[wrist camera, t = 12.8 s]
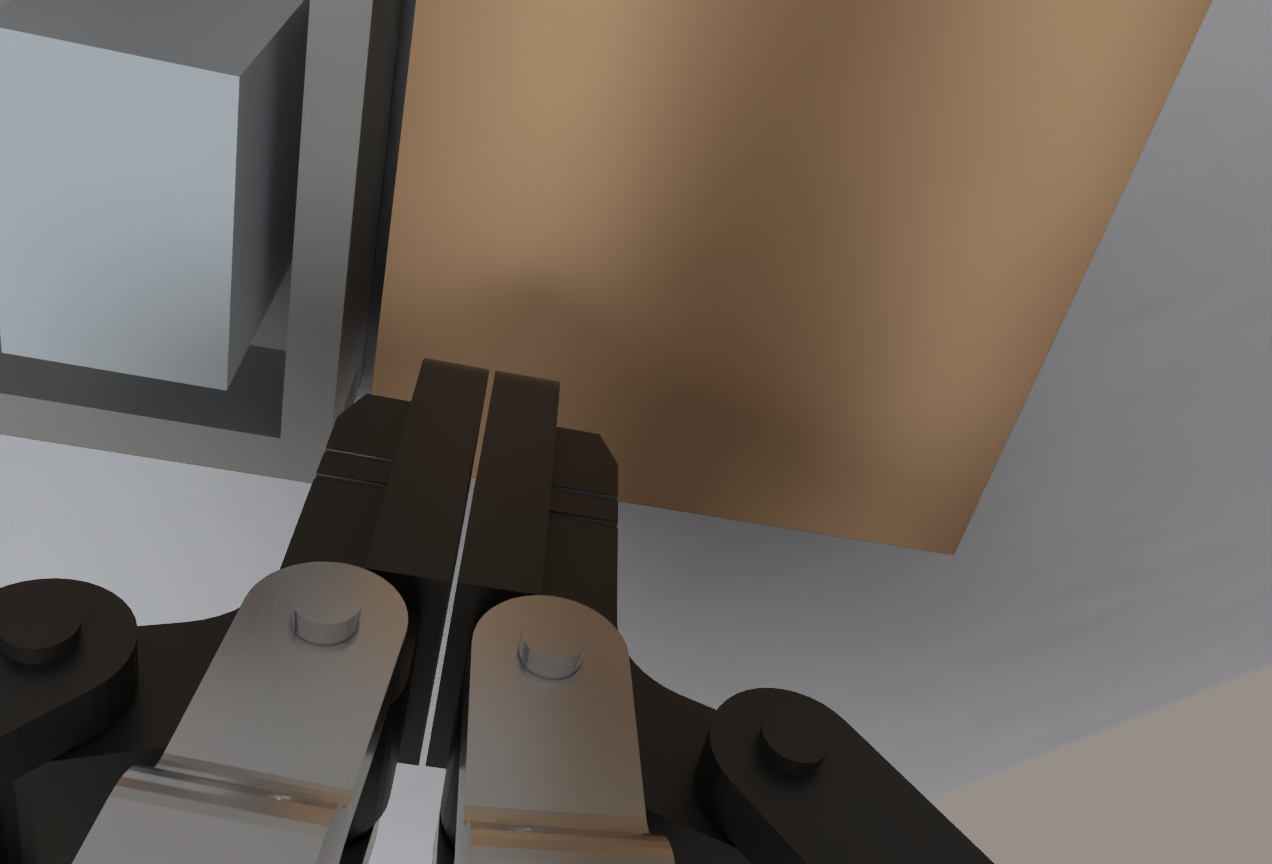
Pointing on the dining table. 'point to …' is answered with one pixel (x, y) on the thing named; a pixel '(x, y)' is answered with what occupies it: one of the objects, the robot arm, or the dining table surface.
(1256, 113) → the dining table surface
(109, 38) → the pale blue-gray cube
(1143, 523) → the dining table surface
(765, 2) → the board
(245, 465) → the tray
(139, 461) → the dining table surface
